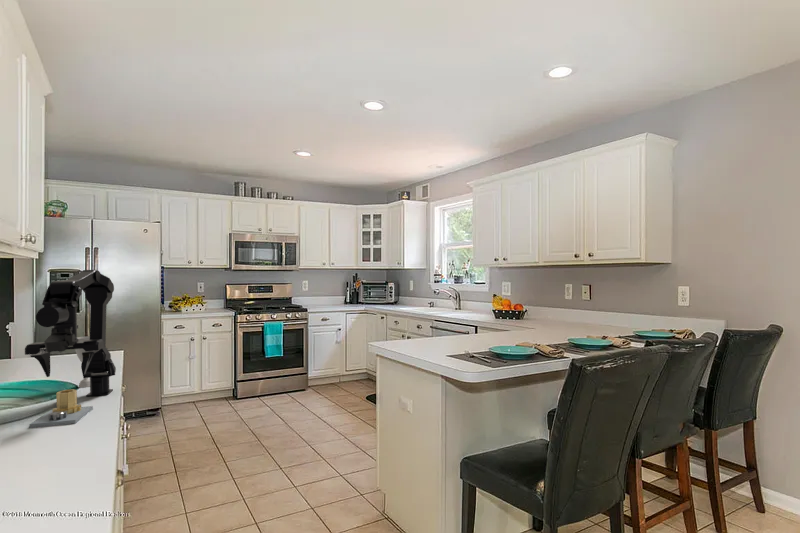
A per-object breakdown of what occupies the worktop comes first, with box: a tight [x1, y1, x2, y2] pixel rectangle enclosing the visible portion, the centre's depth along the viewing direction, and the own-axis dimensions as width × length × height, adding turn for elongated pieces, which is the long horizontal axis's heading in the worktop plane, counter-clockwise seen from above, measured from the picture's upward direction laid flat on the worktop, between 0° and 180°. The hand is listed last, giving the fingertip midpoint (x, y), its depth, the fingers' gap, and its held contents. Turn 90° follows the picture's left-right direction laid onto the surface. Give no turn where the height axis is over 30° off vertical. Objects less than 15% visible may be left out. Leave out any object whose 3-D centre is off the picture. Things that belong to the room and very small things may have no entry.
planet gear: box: [51, 388, 82, 414], centre depth 141 cm, size 7×7×6 cm
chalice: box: [74, 335, 90, 388], centre depth 177 cm, size 7×7×18 cm
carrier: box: [29, 405, 94, 429], centre depth 138 cm, size 14×11×6 cm
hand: (66, 375), depth 141 cm, fingers open, 9 cm apart
